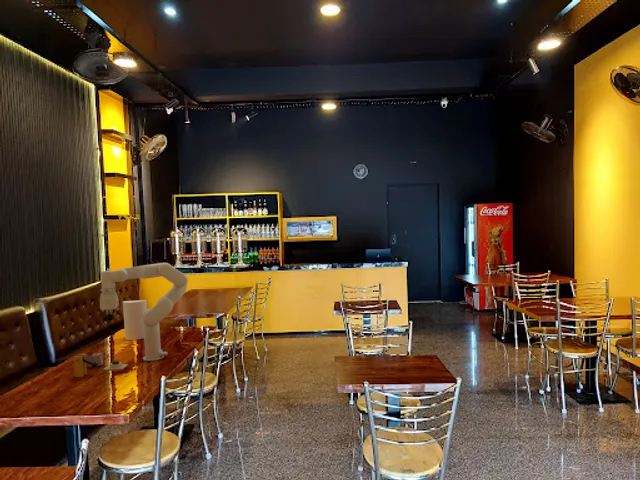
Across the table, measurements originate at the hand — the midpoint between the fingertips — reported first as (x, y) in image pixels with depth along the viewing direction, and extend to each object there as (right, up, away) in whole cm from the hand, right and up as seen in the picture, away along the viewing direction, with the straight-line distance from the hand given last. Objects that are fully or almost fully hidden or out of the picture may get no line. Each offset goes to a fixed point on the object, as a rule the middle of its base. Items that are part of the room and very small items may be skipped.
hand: (110, 320), depth 307 cm
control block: (+9, -27, -13) cm, 31 cm away
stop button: (+8, -24, -13) cm, 28 cm away
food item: (-10, -28, -5) cm, 30 cm away
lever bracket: (-6, -28, -25) cm, 38 cm away
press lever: (-3, -21, -25) cm, 33 cm away
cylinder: (-11, -25, +75) cm, 80 cm away
